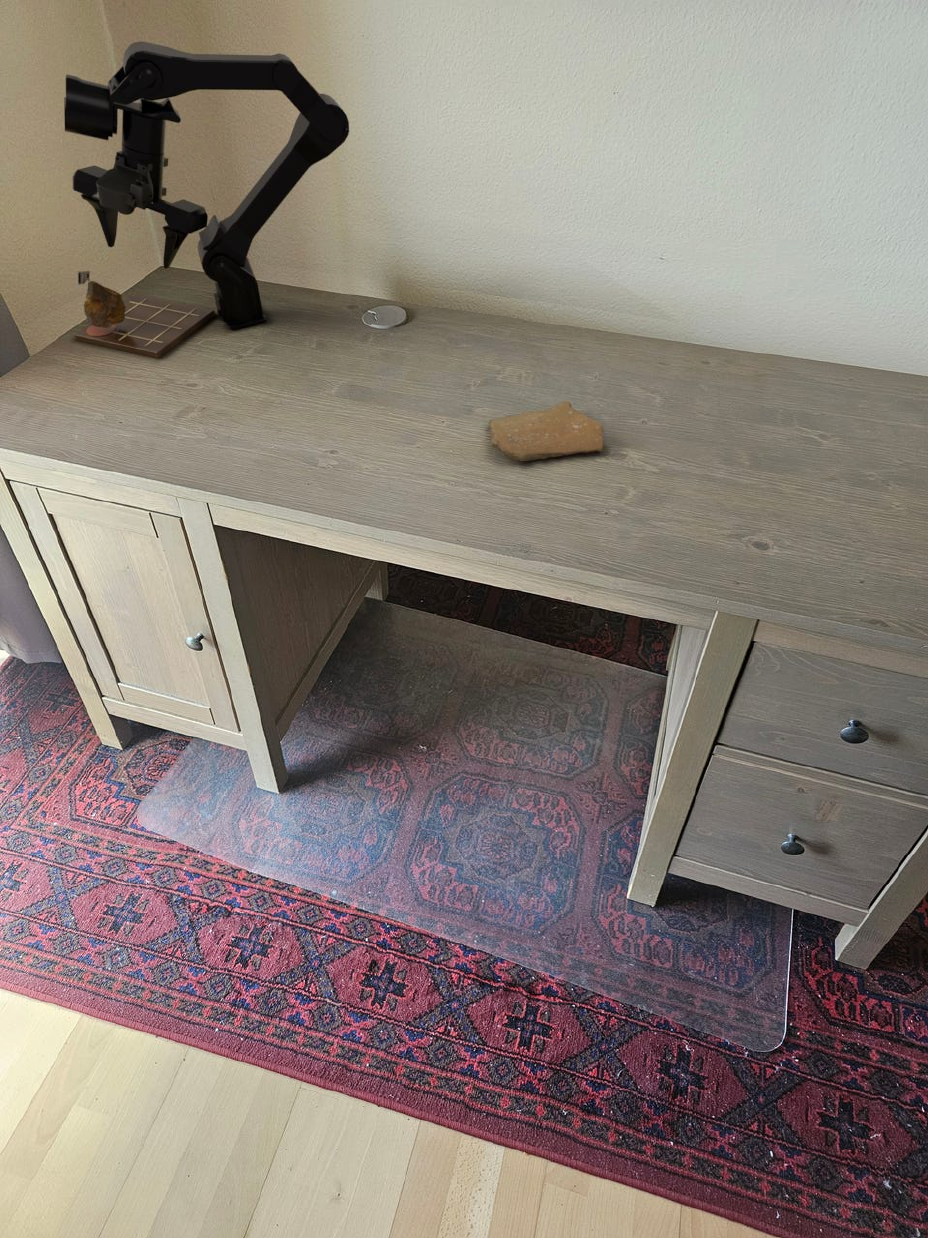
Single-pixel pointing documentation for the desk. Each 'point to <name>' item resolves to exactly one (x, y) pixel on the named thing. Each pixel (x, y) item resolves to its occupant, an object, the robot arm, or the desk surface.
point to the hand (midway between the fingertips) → (138, 257)
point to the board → (148, 326)
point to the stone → (546, 433)
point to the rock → (101, 303)
